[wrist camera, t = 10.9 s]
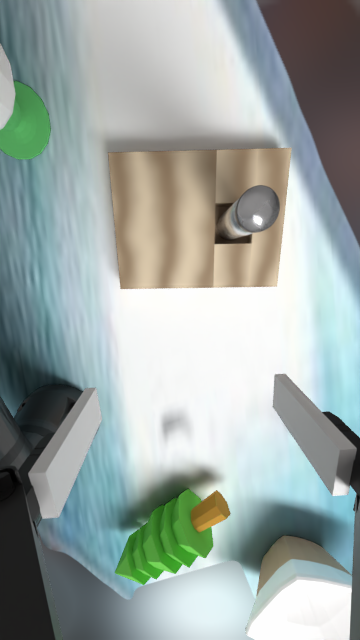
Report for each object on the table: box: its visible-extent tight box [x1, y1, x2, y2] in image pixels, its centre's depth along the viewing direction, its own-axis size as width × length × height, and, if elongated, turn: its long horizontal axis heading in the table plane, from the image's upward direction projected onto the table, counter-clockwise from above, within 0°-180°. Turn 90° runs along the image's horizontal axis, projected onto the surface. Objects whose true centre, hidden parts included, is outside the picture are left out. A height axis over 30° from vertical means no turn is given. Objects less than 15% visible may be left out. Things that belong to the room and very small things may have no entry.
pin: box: [217, 185, 280, 240], centre depth 28 cm, size 4×4×13 cm
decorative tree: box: [115, 489, 230, 585], centre depth 47 cm, size 11×12×30 cm
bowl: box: [246, 536, 352, 640], centre depth 51 cm, size 24×25×11 cm
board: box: [108, 148, 291, 289], centre depth 33 cm, size 24×18×3 cm
